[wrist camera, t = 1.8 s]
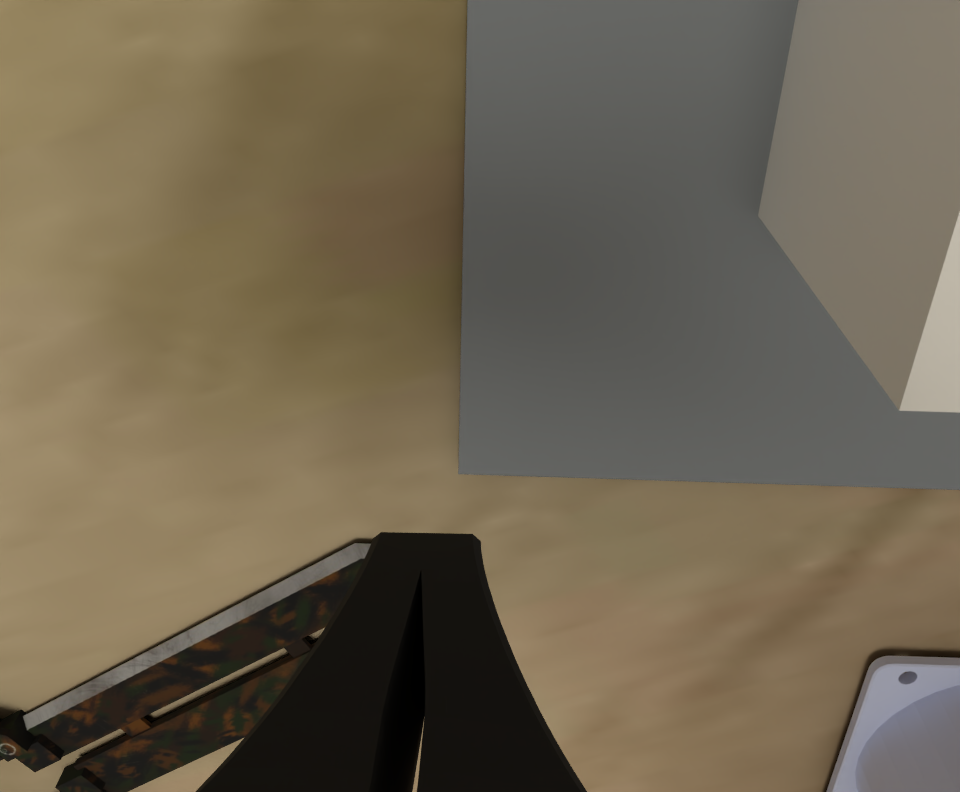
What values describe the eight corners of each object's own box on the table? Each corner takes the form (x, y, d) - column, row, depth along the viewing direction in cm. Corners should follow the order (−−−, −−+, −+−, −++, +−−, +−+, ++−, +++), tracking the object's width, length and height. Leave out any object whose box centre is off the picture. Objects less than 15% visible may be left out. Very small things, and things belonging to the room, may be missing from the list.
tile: (906, -101, 17) (1196, -68, 10) (833, 218, 20) (1013, 413, 13) (818, -104, 17) (1045, -73, 10) (758, 215, 20) (899, 411, 13)
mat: (1426, -289, 15) (1447, -292, 15) (1082, 484, 24) (1091, 494, 23) (474, -320, 15) (473, -323, 15) (459, 465, 24) (458, 474, 23)
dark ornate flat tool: (443, 491, 25) (440, 525, 23) (550, 652, 28) (553, 689, 26) (-231, 778, 31) (-261, 816, 30) (-85, 883, 34) (-107, 922, 33)
